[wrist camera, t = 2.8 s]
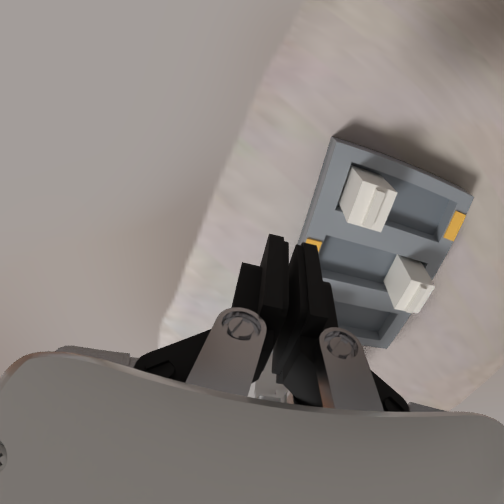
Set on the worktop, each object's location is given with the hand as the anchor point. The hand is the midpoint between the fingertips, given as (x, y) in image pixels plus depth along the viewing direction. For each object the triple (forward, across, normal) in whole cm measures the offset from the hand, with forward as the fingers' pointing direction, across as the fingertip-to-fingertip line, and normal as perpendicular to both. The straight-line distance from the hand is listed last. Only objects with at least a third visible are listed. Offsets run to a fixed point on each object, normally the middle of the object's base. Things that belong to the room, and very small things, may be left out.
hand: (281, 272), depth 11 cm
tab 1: (+16, -7, 0) cm, 17 cm away
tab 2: (+16, -15, +7) cm, 23 cm away
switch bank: (+17, -11, +7) cm, 22 cm away
